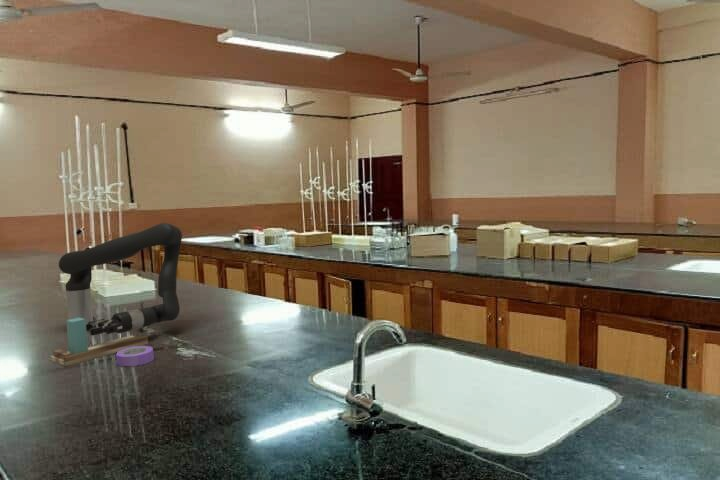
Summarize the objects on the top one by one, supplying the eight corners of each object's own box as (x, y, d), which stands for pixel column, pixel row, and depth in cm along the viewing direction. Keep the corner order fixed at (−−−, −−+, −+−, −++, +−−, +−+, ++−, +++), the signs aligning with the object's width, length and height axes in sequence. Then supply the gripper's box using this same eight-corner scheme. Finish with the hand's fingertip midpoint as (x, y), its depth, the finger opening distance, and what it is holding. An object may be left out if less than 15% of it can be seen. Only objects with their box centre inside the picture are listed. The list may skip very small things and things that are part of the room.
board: (50, 360, 187) (49, 350, 187) (131, 339, 211) (130, 330, 211) (66, 366, 180) (65, 356, 180) (148, 343, 204) (147, 334, 203)
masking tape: (118, 369, 176) (117, 358, 175) (115, 360, 186) (115, 349, 186) (155, 363, 181) (155, 352, 181) (151, 354, 192) (151, 343, 191)
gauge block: (69, 353, 189) (66, 320, 187) (82, 350, 192) (79, 317, 191) (75, 356, 186) (72, 322, 185) (88, 352, 190) (85, 319, 188)
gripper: (117, 309, 207) (74, 318, 194) (137, 313, 199) (93, 323, 186) (118, 328, 208) (76, 338, 195) (139, 333, 199) (95, 344, 187)
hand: (84, 330), depth 191 cm, fingers open, 8 cm apart
